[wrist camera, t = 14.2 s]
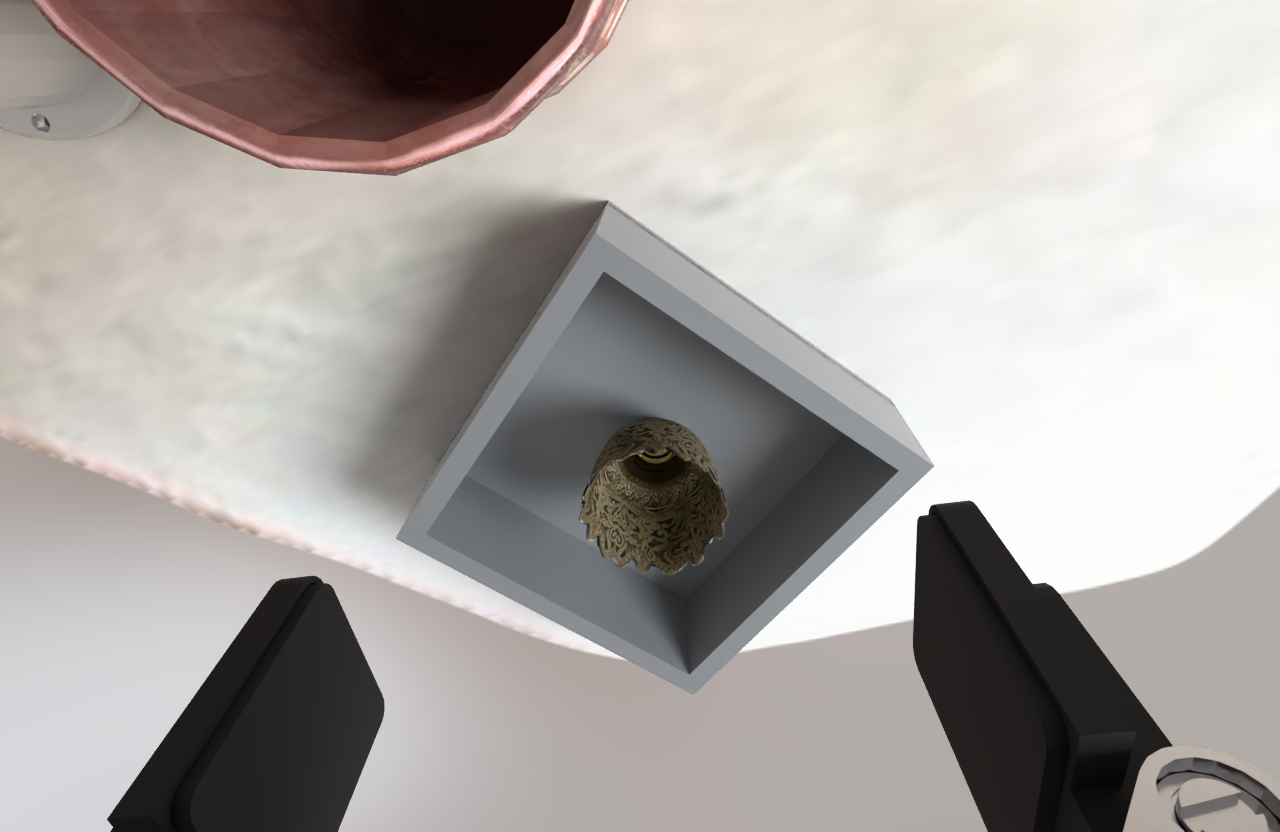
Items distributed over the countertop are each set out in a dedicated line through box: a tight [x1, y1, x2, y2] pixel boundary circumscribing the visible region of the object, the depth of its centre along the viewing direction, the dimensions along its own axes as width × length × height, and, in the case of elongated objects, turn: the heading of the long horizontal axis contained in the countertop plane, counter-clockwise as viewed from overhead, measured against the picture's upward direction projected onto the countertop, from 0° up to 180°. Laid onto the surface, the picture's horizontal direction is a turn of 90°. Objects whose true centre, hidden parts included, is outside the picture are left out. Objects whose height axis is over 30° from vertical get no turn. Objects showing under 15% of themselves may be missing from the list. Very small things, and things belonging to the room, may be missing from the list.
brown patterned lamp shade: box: [579, 418, 729, 576], centre depth 38 cm, size 8×7×8 cm
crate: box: [396, 201, 934, 694], centre depth 40 cm, size 20×20×8 cm
